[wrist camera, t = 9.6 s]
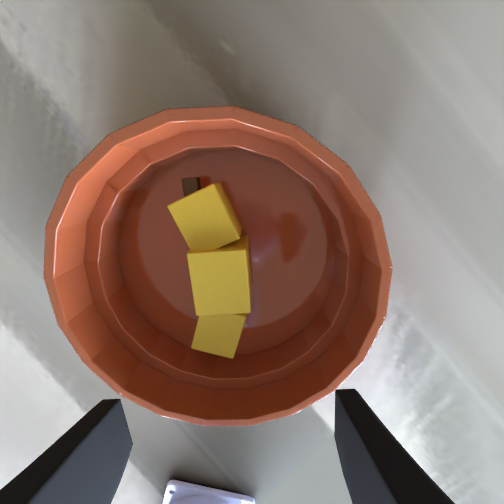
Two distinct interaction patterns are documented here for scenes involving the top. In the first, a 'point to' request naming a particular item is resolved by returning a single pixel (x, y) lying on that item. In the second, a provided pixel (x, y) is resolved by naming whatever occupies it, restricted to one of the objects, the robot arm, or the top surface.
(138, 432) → the top surface
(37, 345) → the top surface
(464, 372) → the top surface
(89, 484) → the robot arm
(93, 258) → the bowl
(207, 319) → the yellow banana
